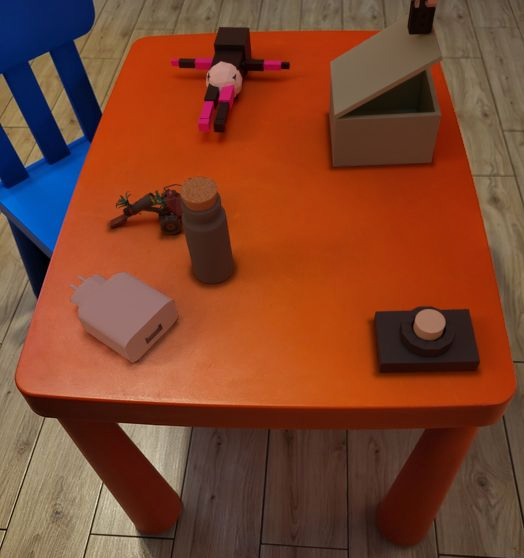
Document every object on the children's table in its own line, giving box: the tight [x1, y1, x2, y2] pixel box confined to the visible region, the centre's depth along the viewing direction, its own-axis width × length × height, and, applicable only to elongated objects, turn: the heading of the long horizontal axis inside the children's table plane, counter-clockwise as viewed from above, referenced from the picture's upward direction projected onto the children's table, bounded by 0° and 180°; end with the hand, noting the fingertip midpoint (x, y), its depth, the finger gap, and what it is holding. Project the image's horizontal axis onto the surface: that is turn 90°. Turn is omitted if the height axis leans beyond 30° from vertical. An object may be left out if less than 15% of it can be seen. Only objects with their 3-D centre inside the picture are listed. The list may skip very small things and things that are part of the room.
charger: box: [68, 271, 179, 363], centre depth 82 cm, size 5×9×15 cm
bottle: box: [179, 176, 235, 285], centre depth 81 cm, size 6×6×15 cm
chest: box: [328, 67, 442, 168], centre depth 98 cm, size 16×14×9 cm
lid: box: [329, 13, 444, 118], centre depth 90 cm, size 16×14×1 cm
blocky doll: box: [170, 26, 291, 134], centre depth 107 cm, size 22×25×6 cm
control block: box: [373, 305, 481, 373], centre depth 77 cm, size 12×8×4 cm, turn 89°
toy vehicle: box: [109, 177, 192, 236], centre depth 91 cm, size 7×15×8 cm, turn 94°
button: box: [413, 309, 445, 341], centre depth 75 cm, size 4×4×2 cm
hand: (419, 30), depth 86 cm, fingers closed
